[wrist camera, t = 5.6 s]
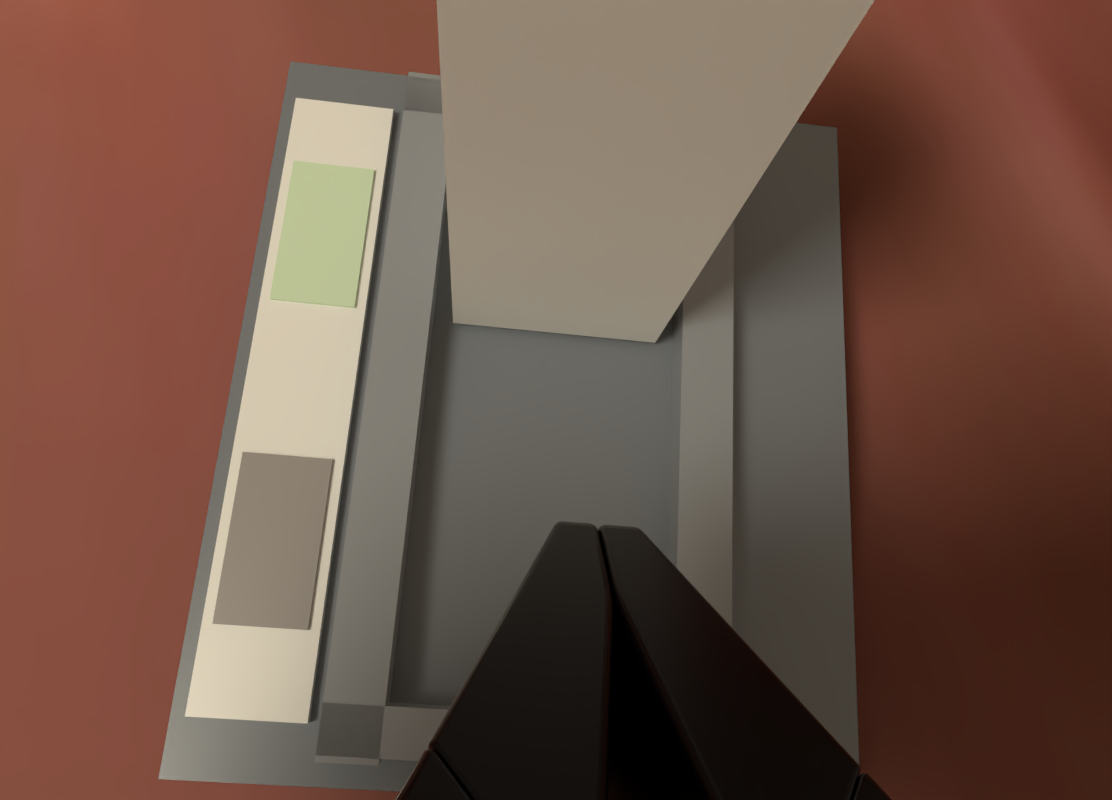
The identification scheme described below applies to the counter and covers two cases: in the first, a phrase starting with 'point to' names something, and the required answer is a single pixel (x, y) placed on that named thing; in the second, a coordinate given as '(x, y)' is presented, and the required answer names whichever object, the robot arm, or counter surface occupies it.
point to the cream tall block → (613, 146)
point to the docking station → (493, 452)
